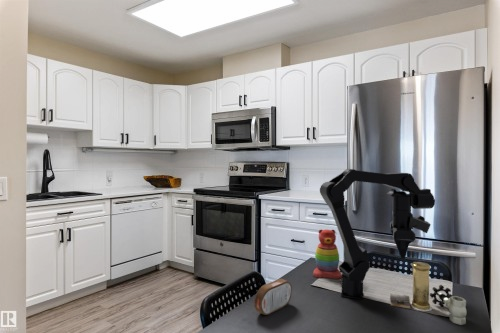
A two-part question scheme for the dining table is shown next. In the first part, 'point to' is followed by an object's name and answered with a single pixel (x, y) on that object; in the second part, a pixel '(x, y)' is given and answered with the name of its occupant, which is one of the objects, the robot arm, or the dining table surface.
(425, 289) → the gold tall rounded piece
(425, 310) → the gap pad
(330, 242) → the stacking bear
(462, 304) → the valve
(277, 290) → the tin
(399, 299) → the small brown box
